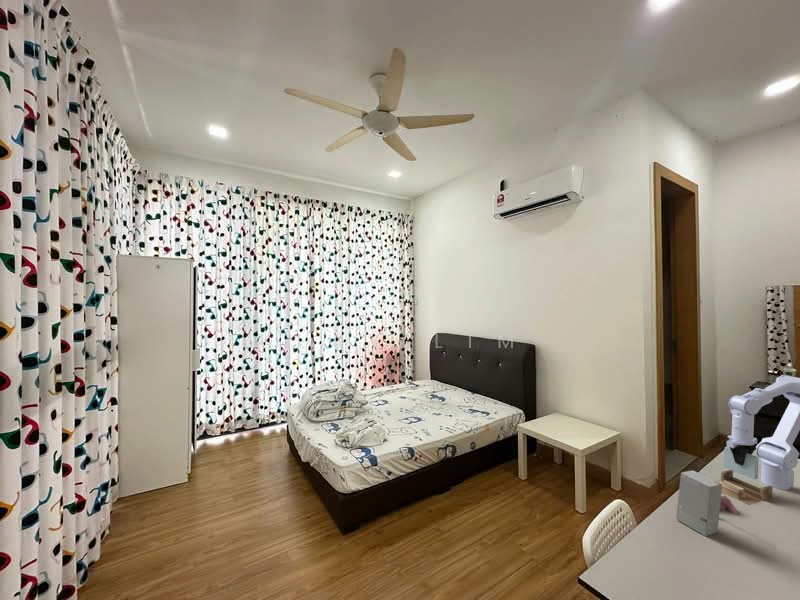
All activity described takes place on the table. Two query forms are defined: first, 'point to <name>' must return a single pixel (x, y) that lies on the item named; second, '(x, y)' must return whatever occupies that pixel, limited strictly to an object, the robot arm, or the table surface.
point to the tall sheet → (746, 469)
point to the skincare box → (699, 502)
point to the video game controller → (727, 505)
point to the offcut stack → (732, 490)
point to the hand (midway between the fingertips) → (741, 463)
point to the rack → (748, 489)
